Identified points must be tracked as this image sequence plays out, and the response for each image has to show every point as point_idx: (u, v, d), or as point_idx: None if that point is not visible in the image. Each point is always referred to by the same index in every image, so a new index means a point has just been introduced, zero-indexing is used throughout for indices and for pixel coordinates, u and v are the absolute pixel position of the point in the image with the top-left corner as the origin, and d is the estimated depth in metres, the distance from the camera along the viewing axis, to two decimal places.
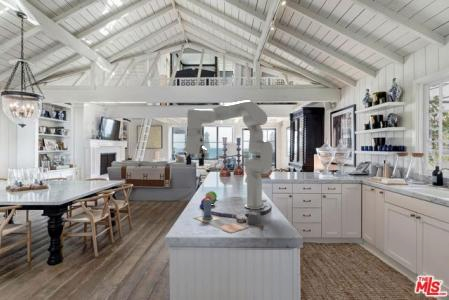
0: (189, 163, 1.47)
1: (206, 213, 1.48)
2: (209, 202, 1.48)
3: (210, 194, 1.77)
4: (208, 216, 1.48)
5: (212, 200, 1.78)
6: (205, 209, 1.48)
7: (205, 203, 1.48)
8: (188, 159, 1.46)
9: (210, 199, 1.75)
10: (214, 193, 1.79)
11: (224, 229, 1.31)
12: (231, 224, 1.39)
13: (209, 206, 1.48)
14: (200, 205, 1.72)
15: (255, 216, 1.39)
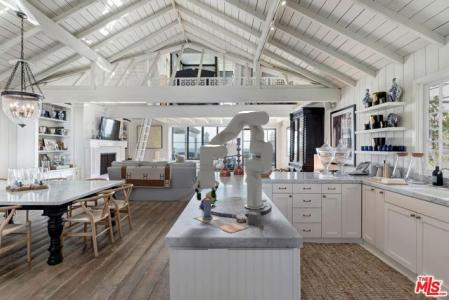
0: None
1: (206, 213, 1.48)
2: (209, 202, 1.48)
3: (210, 194, 1.77)
4: (208, 216, 1.48)
5: (212, 200, 1.78)
6: (205, 209, 1.48)
7: (205, 203, 1.48)
8: None
9: (210, 199, 1.75)
10: None
11: (224, 229, 1.31)
12: (231, 224, 1.39)
13: (209, 206, 1.48)
14: (200, 205, 1.72)
15: (255, 216, 1.39)
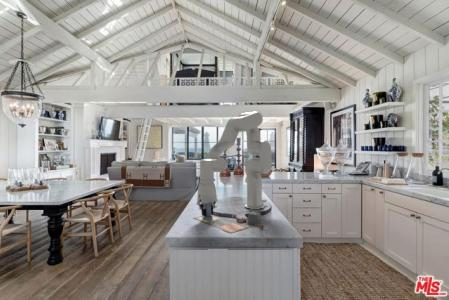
0: None
1: (206, 213, 1.48)
2: (209, 202, 1.48)
3: None
4: (208, 216, 1.48)
5: None
6: None
7: None
8: None
9: None
10: None
11: (224, 229, 1.31)
12: (231, 224, 1.39)
13: (209, 206, 1.48)
14: None
15: (255, 216, 1.39)
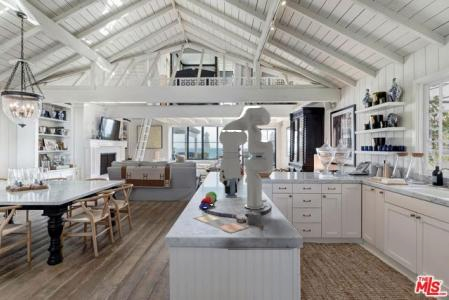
0: None
1: (230, 191, 1.32)
2: (233, 178, 1.32)
3: (210, 194, 1.76)
4: (232, 194, 1.32)
5: (212, 200, 1.77)
6: None
7: None
8: None
9: (210, 199, 1.74)
10: (214, 193, 1.78)
11: (224, 229, 1.31)
12: (231, 224, 1.39)
13: (234, 183, 1.32)
14: (200, 205, 1.71)
15: (255, 216, 1.39)
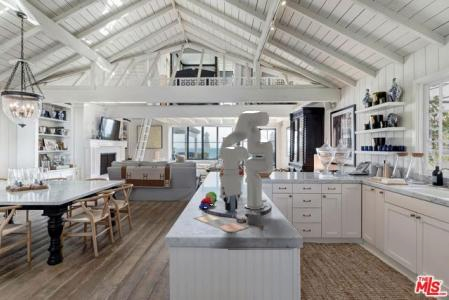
0: None
1: (230, 207, 1.32)
2: (233, 195, 1.32)
3: (210, 194, 1.76)
4: (232, 211, 1.32)
5: (212, 200, 1.77)
6: None
7: None
8: None
9: (210, 199, 1.74)
10: (214, 193, 1.78)
11: (224, 229, 1.31)
12: (231, 224, 1.39)
13: (234, 200, 1.32)
14: (199, 205, 1.71)
15: (255, 216, 1.39)
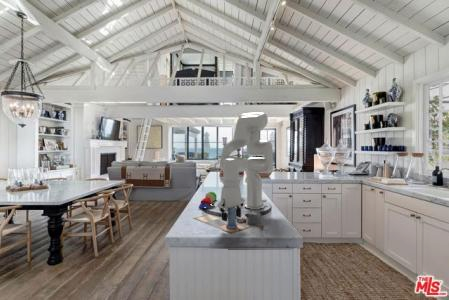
0: None
1: (230, 221, 1.33)
2: (234, 209, 1.33)
3: (210, 194, 1.76)
4: (233, 225, 1.33)
5: (212, 201, 1.77)
6: (229, 217, 1.33)
7: (229, 210, 1.32)
8: None
9: (209, 200, 1.73)
10: (214, 194, 1.77)
11: (224, 229, 1.31)
12: None
13: (234, 213, 1.33)
14: (199, 205, 1.71)
15: (255, 216, 1.39)
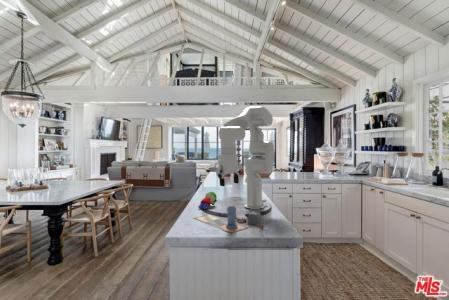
0: None
1: (230, 221, 1.33)
2: (234, 209, 1.33)
3: (210, 195, 1.75)
4: (233, 225, 1.33)
5: (212, 201, 1.76)
6: (229, 217, 1.33)
7: (229, 210, 1.32)
8: None
9: (209, 200, 1.73)
10: (214, 194, 1.77)
11: (224, 229, 1.31)
12: None
13: (234, 213, 1.33)
14: (199, 206, 1.70)
15: (255, 216, 1.39)
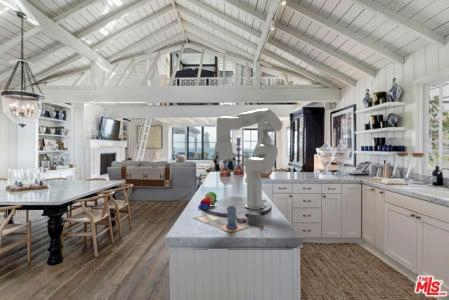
0: None
1: (230, 221, 1.33)
2: (234, 209, 1.33)
3: (210, 195, 1.75)
4: (233, 225, 1.33)
5: (212, 201, 1.76)
6: (229, 217, 1.33)
7: (229, 210, 1.32)
8: None
9: (209, 200, 1.73)
10: (214, 194, 1.77)
11: (224, 229, 1.31)
12: None
13: (234, 213, 1.33)
14: (199, 206, 1.70)
15: (255, 216, 1.39)
